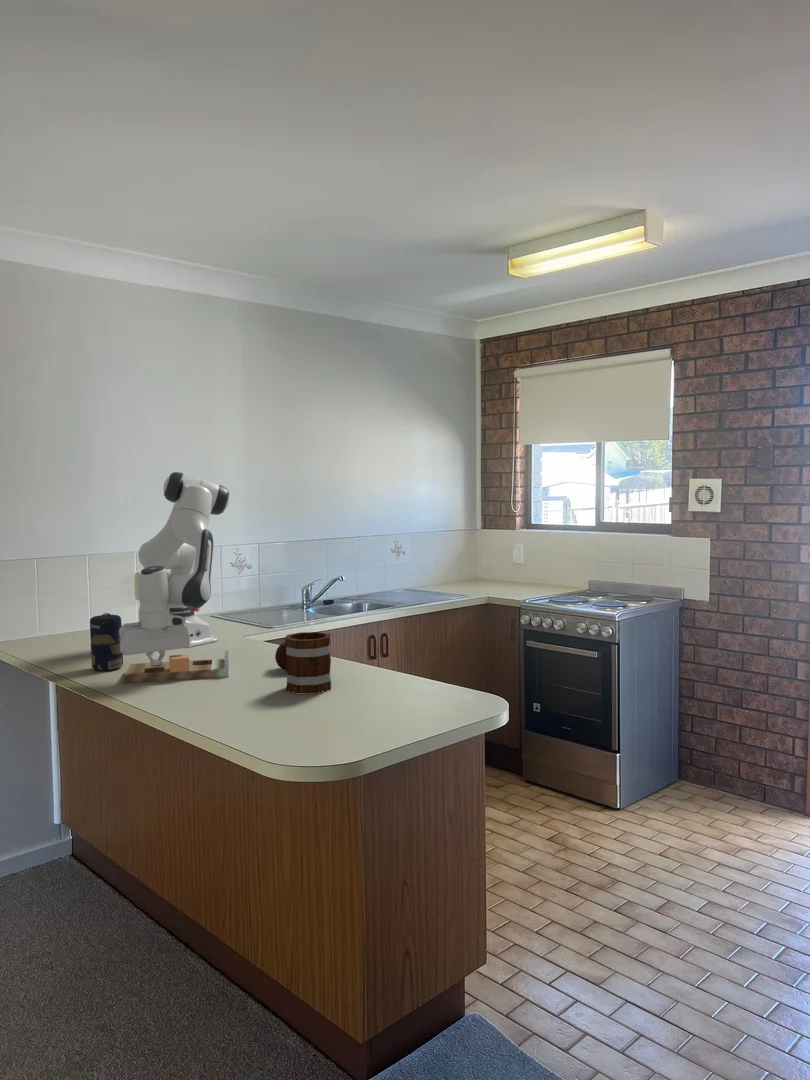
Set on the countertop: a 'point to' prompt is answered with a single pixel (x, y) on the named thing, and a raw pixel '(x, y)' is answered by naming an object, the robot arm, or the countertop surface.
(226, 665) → the end stop
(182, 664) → the block
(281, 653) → the potato
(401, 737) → the countertop surface
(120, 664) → the canister
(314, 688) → the mug
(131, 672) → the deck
